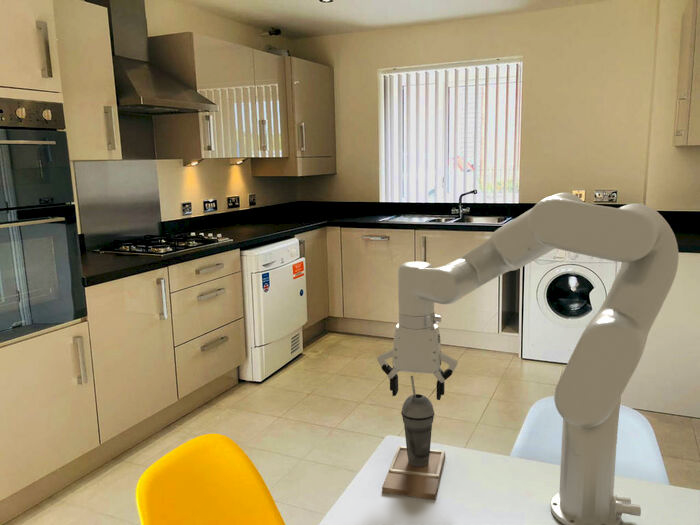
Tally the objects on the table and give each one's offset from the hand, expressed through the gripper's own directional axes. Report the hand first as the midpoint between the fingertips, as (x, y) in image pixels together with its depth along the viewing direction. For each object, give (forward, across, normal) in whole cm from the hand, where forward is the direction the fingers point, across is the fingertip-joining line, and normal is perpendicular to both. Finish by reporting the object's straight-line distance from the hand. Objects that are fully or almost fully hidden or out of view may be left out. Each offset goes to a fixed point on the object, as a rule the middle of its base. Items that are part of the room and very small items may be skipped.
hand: (417, 395), depth 128 cm
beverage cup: (+16, 0, 0) cm, 16 cm away
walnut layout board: (+17, 0, +3) cm, 17 cm away
